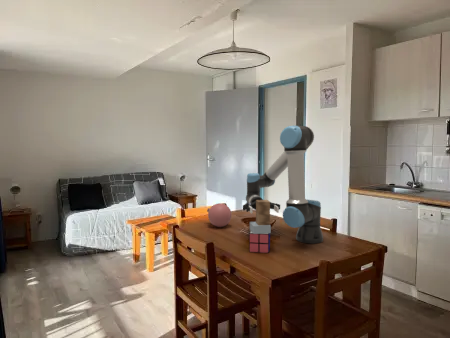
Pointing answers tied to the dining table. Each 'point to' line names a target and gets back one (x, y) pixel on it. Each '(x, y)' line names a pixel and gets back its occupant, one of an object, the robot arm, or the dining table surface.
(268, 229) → the tower top block
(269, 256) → the dining table surface
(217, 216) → the pink rounded piece
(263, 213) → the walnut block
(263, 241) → the puzzle cube
